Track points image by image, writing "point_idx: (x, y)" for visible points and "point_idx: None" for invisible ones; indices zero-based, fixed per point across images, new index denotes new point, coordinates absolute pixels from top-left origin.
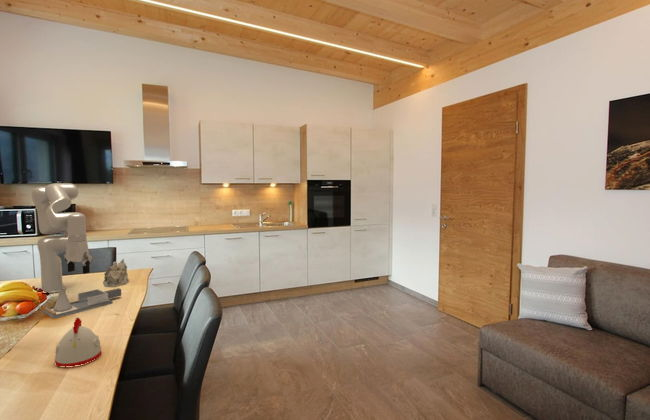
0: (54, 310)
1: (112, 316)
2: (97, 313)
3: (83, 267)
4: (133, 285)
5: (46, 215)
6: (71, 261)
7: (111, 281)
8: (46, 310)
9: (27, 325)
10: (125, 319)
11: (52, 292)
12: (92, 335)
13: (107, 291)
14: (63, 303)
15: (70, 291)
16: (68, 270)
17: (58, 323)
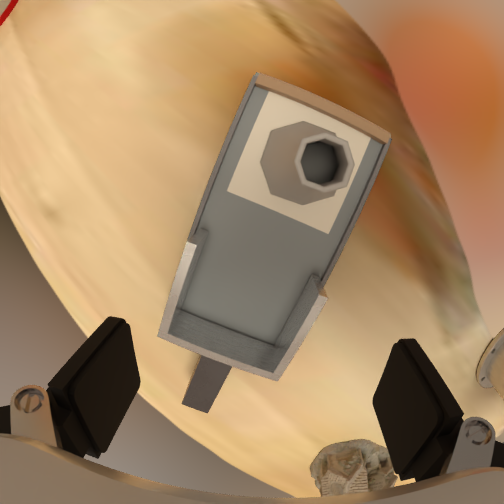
0: (320, 127)
1: (48, 189)
2: (117, 193)
3: (63, 368)
4: (270, 465)
5: None
6: (351, 494)
7: (340, 461)
8: (359, 118)
9: (295, 2)
10: (8, 185)
11: (497, 337)
12: None
13: (212, 373)
14: (281, 144)
15: (453, 372)
16: (409, 348)
17: (181, 48)
